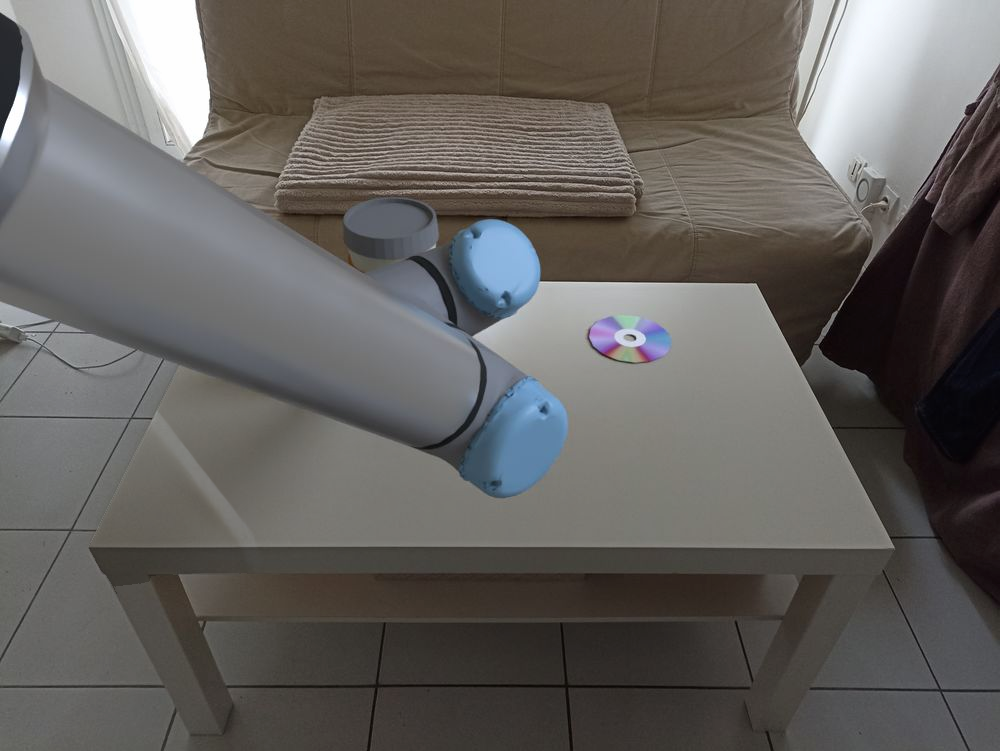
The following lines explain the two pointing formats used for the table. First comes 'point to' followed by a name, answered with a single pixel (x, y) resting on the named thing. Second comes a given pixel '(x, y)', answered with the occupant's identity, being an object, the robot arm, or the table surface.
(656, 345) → the cd
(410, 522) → the table surface
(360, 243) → the reusable coffee cup
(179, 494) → the table surface
